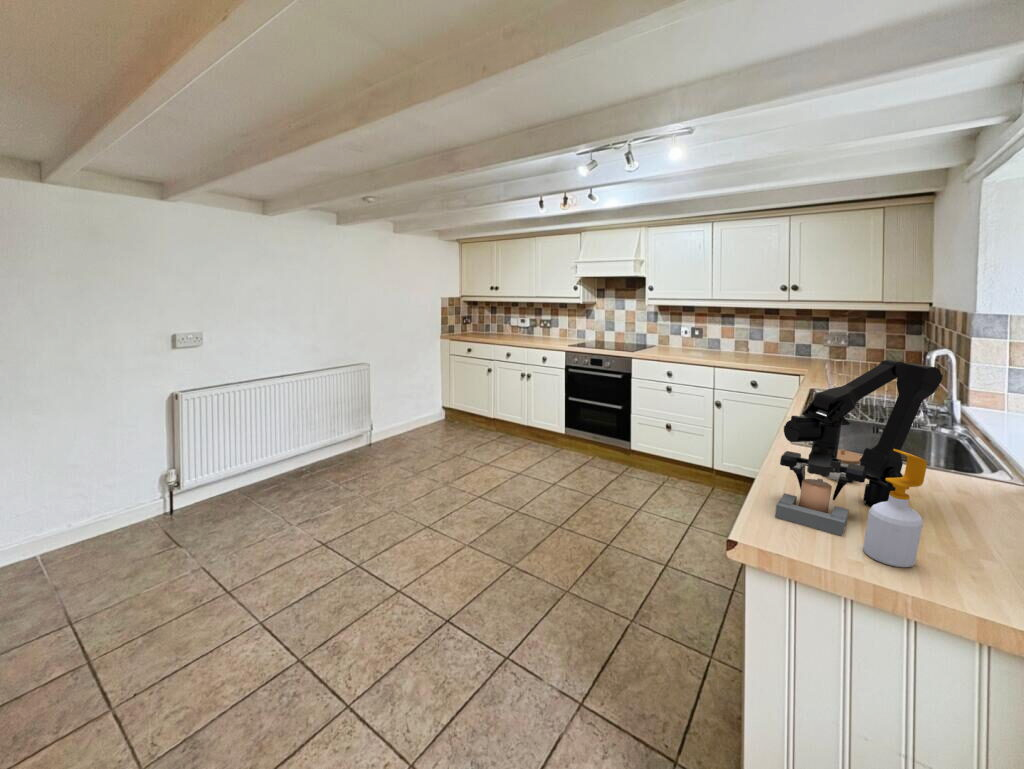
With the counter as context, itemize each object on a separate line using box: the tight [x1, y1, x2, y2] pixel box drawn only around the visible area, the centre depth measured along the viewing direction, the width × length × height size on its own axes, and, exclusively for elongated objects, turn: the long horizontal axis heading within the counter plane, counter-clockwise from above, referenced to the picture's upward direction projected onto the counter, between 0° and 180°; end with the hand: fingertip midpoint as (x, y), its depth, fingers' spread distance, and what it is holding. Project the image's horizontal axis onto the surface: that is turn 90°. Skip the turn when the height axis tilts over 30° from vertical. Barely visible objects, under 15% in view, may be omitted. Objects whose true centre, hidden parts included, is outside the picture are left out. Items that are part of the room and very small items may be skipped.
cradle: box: [774, 492, 849, 537], centre depth 119 cm, size 14×9×4 cm, turn 49°
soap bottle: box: [862, 449, 928, 568], centre depth 101 cm, size 9×9×25 cm
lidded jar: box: [827, 448, 863, 482], centre depth 145 cm, size 11×11×9 cm
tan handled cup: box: [798, 478, 833, 514], centre depth 122 cm, size 6×10×9 cm, turn 140°
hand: (817, 495), depth 125 cm, fingers open, 7 cm apart
